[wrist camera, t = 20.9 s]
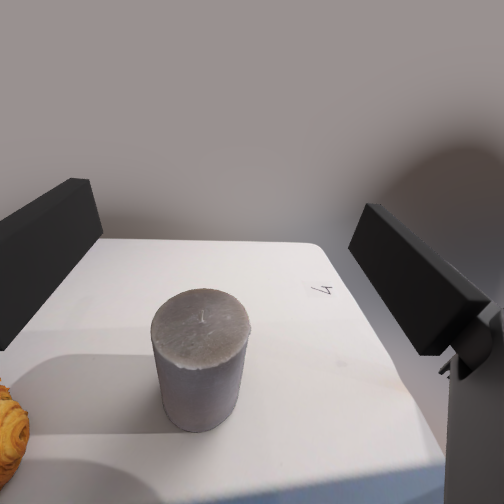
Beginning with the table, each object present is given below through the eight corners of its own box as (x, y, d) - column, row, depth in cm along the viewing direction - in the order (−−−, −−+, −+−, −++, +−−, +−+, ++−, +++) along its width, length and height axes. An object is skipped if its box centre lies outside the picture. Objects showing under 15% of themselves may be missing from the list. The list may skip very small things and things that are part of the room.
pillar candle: (172, 354, 36) (162, 276, 27) (239, 357, 36) (251, 281, 28) (152, 434, 28) (130, 358, 19) (239, 434, 29) (254, 362, 20)
